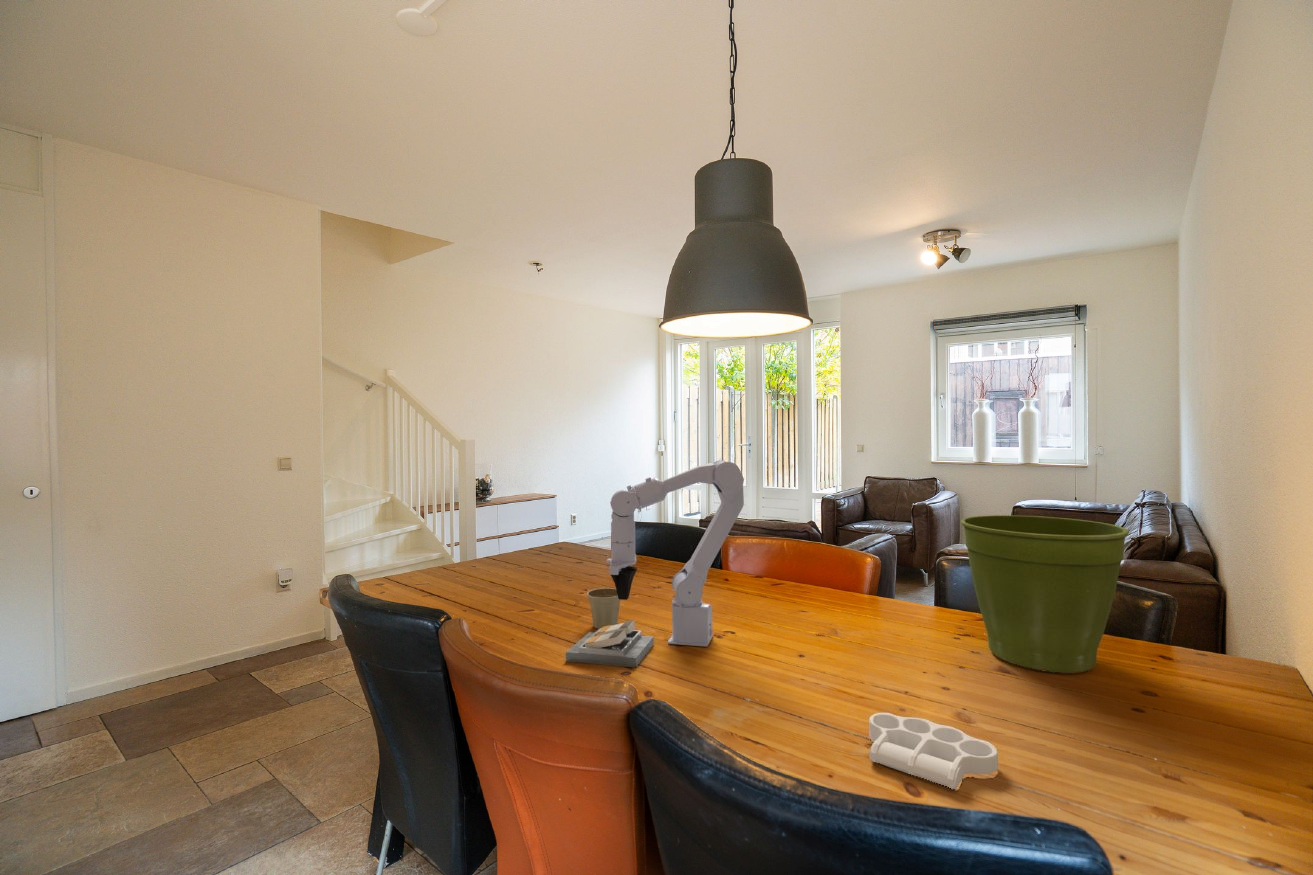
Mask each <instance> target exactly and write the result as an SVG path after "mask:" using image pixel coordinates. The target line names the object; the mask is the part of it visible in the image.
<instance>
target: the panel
mask: <svg viewBox="0 0 1313 875" xmlns="http://www.w3.org/2000/svg"><path fill="white" fill-rule="evenodd" d="M601 629H602V628H600V629H597V630H596V631H589V632H587V633H586V634H585V635H584V636H583V637H582V638H580V639H579V640H578V641H577V642H576V643H575V644H573V645H572V646H571V647H569V649H567V651H565V662H566V663H567V662H570V663H580V664H581V663H583V664H590V665H591V664H592V665H601V666H603V665H604V666H613V667H626V668H635V667H636V668H638V666H639V665H640V663H641V662H642V661H643V660H644V659H645V657H646V656H647V655H648V654H649V652H650V651H651V649H652V648H653V645H655V636H653V635H643V633H642V630H640V629H639V630H637V629H634V630H633V631H632V632H631V633H629V634H626V638H625V639H624V640H623V641H622V642H621V643H619V644H615V645H611V646H606V647H602V648H590V647H585V643H586V642H587V641H589V640H590V639H591V638H592V637H593V636H597V634H596V633H597V632H598V631H599V630H601ZM649 650H650V651H649ZM645 655H646V656H645ZM642 659H643V660H642ZM638 664H639V665H638Z"/></svg>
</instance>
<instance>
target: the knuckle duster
mask: <svg viewBox="0 0 1313 875" xmlns="http://www.w3.org/2000/svg"><path fill="white" fill-rule="evenodd" d="M868 727H869V728H868V731H869V734H868V736H869V737H870V738H869V737H868V738H869V740H870V739H871V740H872V741H873V742H874V743H872V745H871V746H870V750H869V754H868V758H869V761H871V762H874V763H875V762H876V763H875V764H878V763H880V764H881V765H883V766H886V767H888V768H892V769H894V770H897V771H900V772H903V773H905V774H908V775H910V774H911V775H910V776H912V775H915V776H914V777H916V776H918V777H917V778H919V777H921V778H920V779H922V778H924V779H923V780H925V779H927V780H926V781H928V780H930V781H929V782H931V781H932V782H931V783H934V782H935V783H934V784H936V783H938V784H937V785H939V784H941V785H940V786H942V785H944V786H943V787H945V786H947V787H946V788H948V787H949V789H950V788H951V789H950V790H953V789H955V790H954V791H957V790H956V789H957V787H958V785H959V783H960V782H961V780H962V778H963V777H964V774H970V773H971V774H990V773H993V772H995V771H997V769H998V770H999V752H998V749H997V747H996V746H994V744H992V743H990V742H988V741H987V740H983V739H978V738H975V737H972V736H971V735H968V734H966V733H965V732H963V731H962V730H961V729H958V728H955V727H953V726H951V725H943V724H939V723H935V722H934V721H933V722H932V721H930V720H928V719H926V718H920V717H912V716H911V717H907V716H906V717H905V716H899V715H895V714H892V713H891V712H877V713H874V714H872V715H871V716H870V717H869V719H868ZM880 764H879V765H880Z"/></svg>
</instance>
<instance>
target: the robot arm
mask: <svg viewBox="0 0 1313 875" xmlns="http://www.w3.org/2000/svg"><path fill="white" fill-rule="evenodd" d="M744 480H745V478H744V476H743V473H742V471H741V469H740V467H739V466H738V465H737V464H736V463H734V462H731V461H725V460H721V459H720V460H717V461H715V462H709V463H708V462H707V463H705V464H704V463H703V464H701V465H697V466H694V467H693V468H690V469H688V470H685V471H683V472H681V473H678V474H676V475H674V476H671V477H669V478H665V479H664V480H663V479H662V480H661V479H659V478H657V477H653V478H651V477H647V478H645V481H644V482H641V483H638V484H636V485H633V486H632V485H628V486H626V489H627V490H626V489H625V490H624V489H621V490H618V491H616V492H614V493H613V495H612V496H611V499H610V502H609V503H610V508H611V510H612V511H611V512H612V513H611V522H610V540H611V541H610V547H611V548H610V551H611V552H610V556H611V558H607V559H606V563H607V564H610V565H609V566H608V575H610V576H611V579H612V581H613V583H614V586H615V589H616V590H617V595H618V598H619V599H621V600H623V601H627V600H628V599H629V598H630V593H631V588H632V583H633V580H634V578H635V575H636V573H637V571H638V567H637V566H634V565H636V564H637V554H636V522H635V511H636V510H637V509H638V510H642V509H645V508H648V507H650V506H652V505H655V504H658V503H660V502H664V501H665V499H666V496H667V495H668V494H669V493H671V492H675V491H678V490H680V489H683V488H687V487H689V486H692V485H695V484H698V483H702V484H708V485H713V486H714V488H715V489H716V490H717V494H718V497H719V499H720V504H719V506H718V507H717V510H716V512H715V513H714V516H713V517H712V519H711V521H710V523H709V524H708V526H707V528H706V530H705V532H704V534H703V536H701V539H700V541H699V542H698V545H697V546H696V548H695V550H694V552H693V553H692V555H691V557H690V559H689V560H688V561H687V562H686V563H685V564H684V565H683V567H682V569H681V570H680V571H678V572H677V573H675V575H673V577H672V580H671V587H672V589H673V591H674V593H675V595H674V597H673V599H672V600H671V616H672V619H671V620H672V623H671V624H672V635H671V637H670V638H669V639H668V640H667V644H669V645H681V646H682V645H683V646H693V647H694V646H695V647H708V646H709V644H710V642H711V640H712V639H713V637H714V633H713V608H712V605H711V604H710V603H705V602H703V599H702V597H703V590H704V589H703V588H704V586H705V583H706V581H707V578H708V572H709V570H710V568H711V566H712V564H713V563H714V560H715V559H716V557H717V555H718V553H719V552H720V550H721V548H722V546H723V544H724V543H725V541H726V539H727V537H728V535H729V533H730V531H731V529H732V528H733V526H734V524H735V523H736V521H737V519H738V517H739V515H740V514H741V511H742V510H743V508H744V505H745V500H744V482H745V481H744ZM621 600H620V601H621Z"/></svg>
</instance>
